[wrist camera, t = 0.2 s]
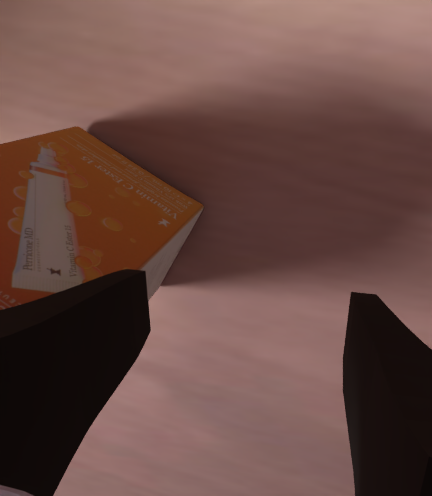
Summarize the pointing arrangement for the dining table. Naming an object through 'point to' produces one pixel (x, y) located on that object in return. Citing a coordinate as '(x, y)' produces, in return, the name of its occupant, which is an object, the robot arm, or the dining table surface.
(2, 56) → the dining table surface
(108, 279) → the robot arm
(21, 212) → the small box
